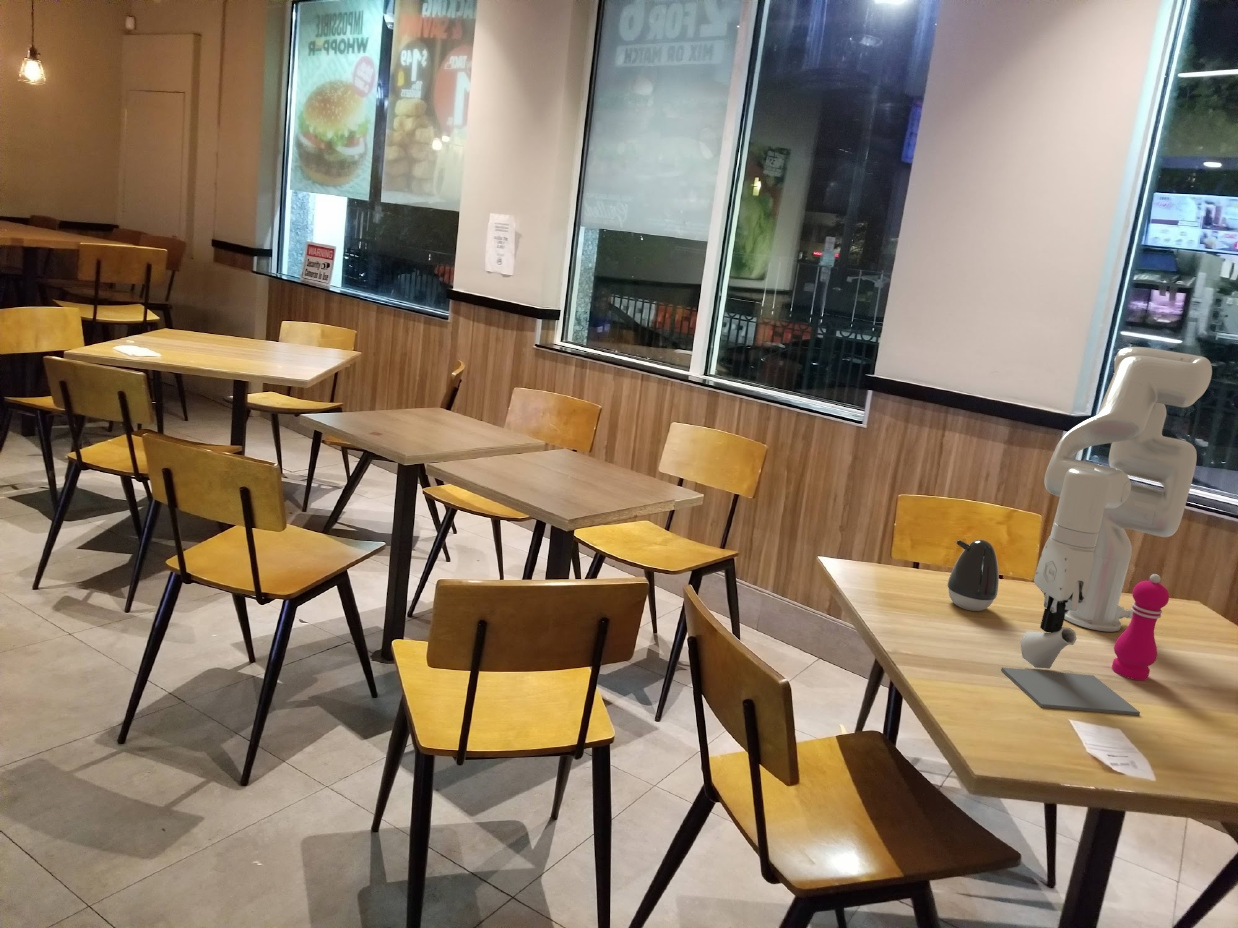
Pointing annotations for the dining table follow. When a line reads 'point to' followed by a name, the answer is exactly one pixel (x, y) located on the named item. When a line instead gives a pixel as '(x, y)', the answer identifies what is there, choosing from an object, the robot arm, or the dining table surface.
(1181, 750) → the dining table surface
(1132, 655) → the pepper mill
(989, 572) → the pump dispenser
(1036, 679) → the rubber mat
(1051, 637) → the flask
